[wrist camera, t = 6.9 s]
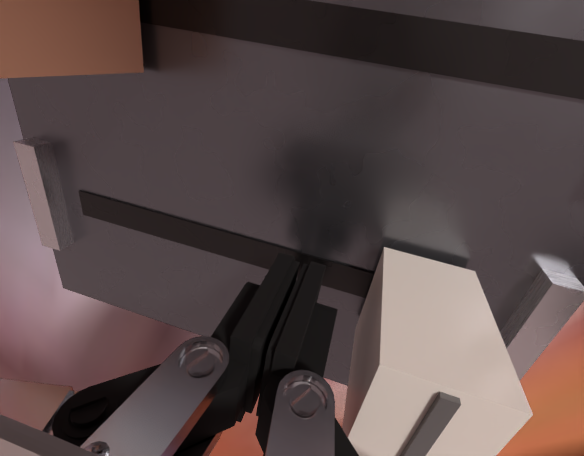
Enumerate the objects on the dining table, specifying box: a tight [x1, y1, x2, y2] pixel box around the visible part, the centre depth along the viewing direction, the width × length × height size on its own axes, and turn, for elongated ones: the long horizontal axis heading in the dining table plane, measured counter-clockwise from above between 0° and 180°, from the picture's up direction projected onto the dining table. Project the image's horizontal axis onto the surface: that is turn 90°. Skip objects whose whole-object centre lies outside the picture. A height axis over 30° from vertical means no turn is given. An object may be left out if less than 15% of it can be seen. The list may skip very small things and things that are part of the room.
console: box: [8, 0, 584, 386], centre depth 12 cm, size 20×22×3 cm
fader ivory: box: [342, 247, 533, 456], centre depth 10 cm, size 4×3×5 cm
